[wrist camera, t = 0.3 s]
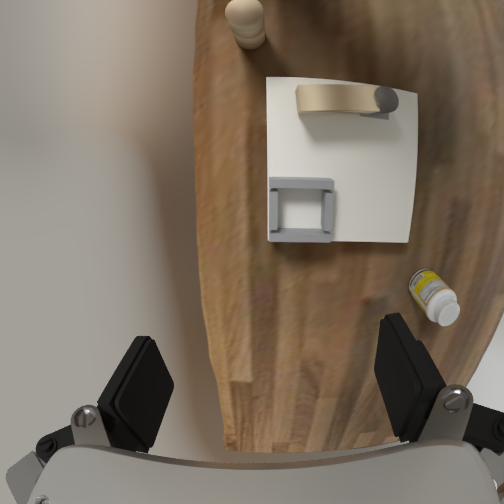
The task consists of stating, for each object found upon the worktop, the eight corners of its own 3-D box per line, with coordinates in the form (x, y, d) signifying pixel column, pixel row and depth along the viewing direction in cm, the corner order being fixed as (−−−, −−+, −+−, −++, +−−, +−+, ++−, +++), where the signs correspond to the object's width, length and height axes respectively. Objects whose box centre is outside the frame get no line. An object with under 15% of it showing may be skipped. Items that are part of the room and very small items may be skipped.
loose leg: (235, 26, 29) (225, -2, 21) (265, 25, 29) (262, -4, 20) (235, 50, 31) (225, 26, 22) (265, 49, 30) (263, 24, 22)
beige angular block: (384, 91, 28) (397, 87, 25) (387, 115, 30) (400, 113, 26) (294, 90, 30) (297, 84, 26) (297, 115, 31) (300, 111, 27)
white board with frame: (266, 81, 32) (265, 72, 27) (407, 95, 31) (425, 91, 26) (268, 233, 40) (267, 247, 35) (399, 235, 39) (415, 249, 34)
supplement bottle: (431, 294, 42) (458, 327, 32) (405, 298, 43) (429, 334, 33) (437, 265, 40) (468, 295, 30) (409, 268, 40) (438, 301, 31)
